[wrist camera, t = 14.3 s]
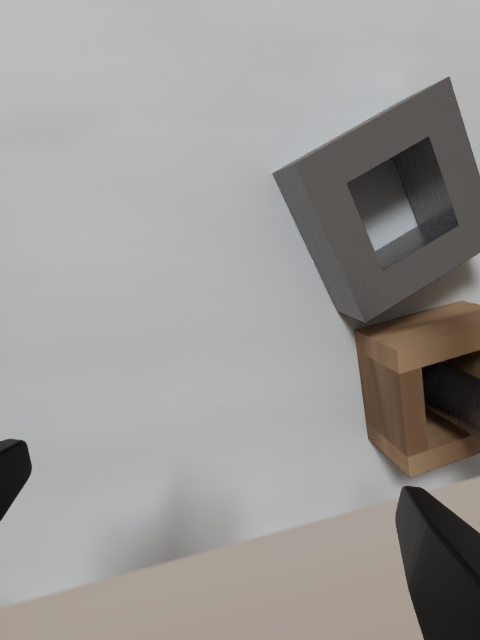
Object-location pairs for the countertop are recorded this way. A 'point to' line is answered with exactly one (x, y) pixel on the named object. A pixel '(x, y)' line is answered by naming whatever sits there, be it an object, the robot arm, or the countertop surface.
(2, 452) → the robot arm
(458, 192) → the block
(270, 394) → the countertop surface
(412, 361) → the wooden square frame
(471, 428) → the chuck key
